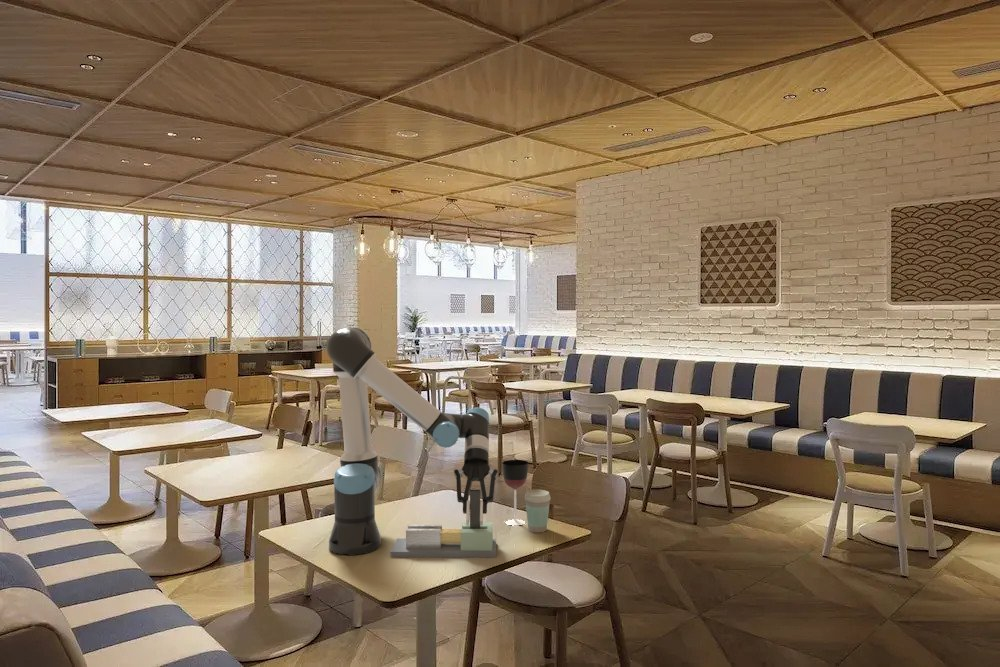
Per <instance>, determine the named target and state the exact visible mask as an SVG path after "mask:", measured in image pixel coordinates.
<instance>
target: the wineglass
mask: <svg viewBox="0 0 1000 667" xmlns="http://www.w3.org/2000/svg"><path fill="white" fill-rule="evenodd" d="M501 465H502V466H501V468H502V475H503V481H504V484H505V485H506V486H508V487H509V488H511V489H513V518H512V520H510V519H507V520H508V521H506V520H505V521H506V522H505V521H504V522H505V523H506V524H507V525H506V526H508V525H512V526H511V527H515V526H514V525H522V524H525V520H524V521H523V519H520V518H519V519H520V520H519V519H518V518H517V489H519V488H521V487H523V486H524V485H525V484H526V482H527V477H528V472H529V461H527V460H523V459H509V460H504V461H502V463H501ZM525 525H526V524H525Z"/></svg>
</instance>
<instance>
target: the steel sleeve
mask: <svg viewBox="0 0 1000 667" xmlns="http://www.w3.org/2000/svg"><path fill="white" fill-rule="evenodd" d="M441 529H443V524H408V525H407V528H406V529H405V538H406V548H441V545H442V544H441Z"/></svg>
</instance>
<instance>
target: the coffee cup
mask: <svg viewBox="0 0 1000 667" xmlns="http://www.w3.org/2000/svg"><path fill="white" fill-rule="evenodd" d="M523 499H524V502H525V510H526V522H527V527H528V528H527V529H528V531H529V532H530V533H534V532H542V533H544V531H545V532H546V531H547V530H548V521H549V513H550V512H549V510H550V503H551V500H552V499H551V495H550V492H549V491H548V490H545V489H530V490H527V491H526V492H525V494H524V498H523Z"/></svg>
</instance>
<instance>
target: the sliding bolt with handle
mask: <svg viewBox="0 0 1000 667" xmlns="http://www.w3.org/2000/svg"><path fill="white" fill-rule="evenodd" d="M469 500H470V516H469V523H470V529H480V500H481V489H470V494H469ZM461 529H462V528H442V529H441V544H461Z"/></svg>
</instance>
